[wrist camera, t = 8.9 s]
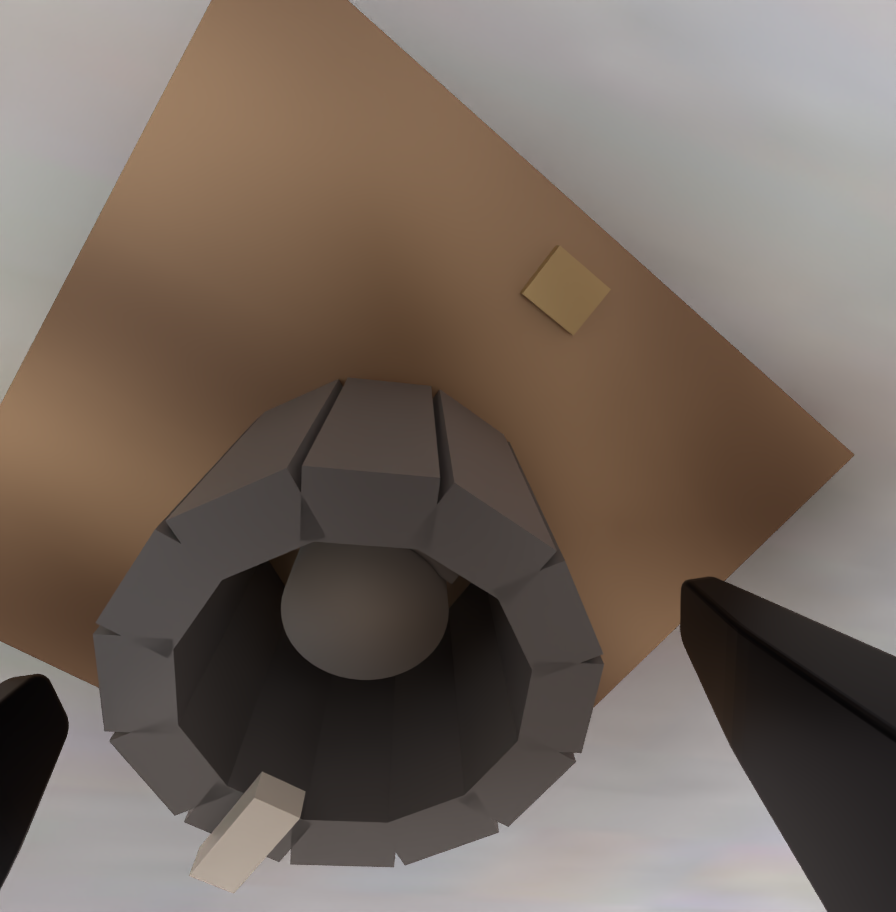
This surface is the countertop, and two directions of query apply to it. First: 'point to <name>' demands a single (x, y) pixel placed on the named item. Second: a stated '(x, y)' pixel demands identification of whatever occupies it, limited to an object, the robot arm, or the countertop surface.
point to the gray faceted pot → (333, 697)
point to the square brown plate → (373, 353)
